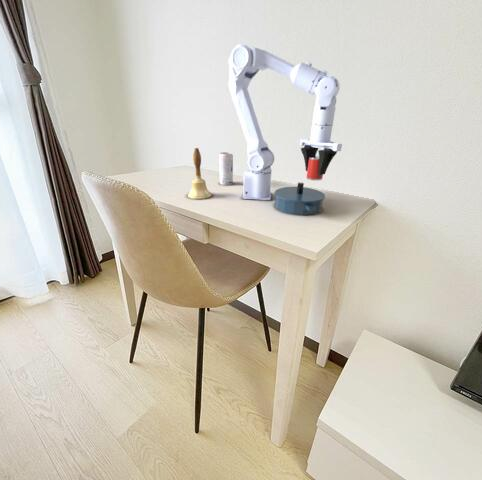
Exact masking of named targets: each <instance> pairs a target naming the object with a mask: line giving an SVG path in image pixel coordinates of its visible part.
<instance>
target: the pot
mask: <svg viewBox="0 0 482 480" xmlns="http://www.w3.org/2000/svg"><path fill="white" fill-rule="evenodd" d="M274 205H275V208H276V210H278V211H279V212H282V213H284V214H289V215H295V216H312V215H316V214H319V213H320V212H322V209H323V205H324V200H322V201H319V202H314V203H298V202H291V201H286V200H283V199H280V198H278V197H277V196H276V195H275V203H274Z"/></svg>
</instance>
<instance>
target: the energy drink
mask: <svg viewBox="0 0 482 480" xmlns="http://www.w3.org/2000/svg"><path fill="white" fill-rule="evenodd" d="M218 161H219V162H218V163H219V165H218V166H219V167H218V169H219V184H220V185H222V186H231V185H233V184H234V156H233V152H229V151H227V152H226V151H225V152H219V154H218Z"/></svg>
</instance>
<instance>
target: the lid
mask: <svg viewBox="0 0 482 480" xmlns="http://www.w3.org/2000/svg"><path fill="white" fill-rule="evenodd" d="M304 184H305V183H304V182H297V185H296V186H285V187H280V188H278V189H275V190H274V195H275V197H276V196H277V197H278V198H280V199H283V200H286V201H291V202H298V203H314V202H319V201H322V200H323V201H324V200H325V199H326V195H325V193H324V192H322V191H320V190H318V189H316V188H312V187H311V188H310V187H304Z"/></svg>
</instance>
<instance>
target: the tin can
mask: <svg viewBox="0 0 482 480" xmlns="http://www.w3.org/2000/svg"><path fill="white" fill-rule="evenodd" d="M323 177H324V174H323V175H319V155H316V156H310V157H309V162H308V169H307V171H306V180H310V181H322V180H323Z"/></svg>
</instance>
